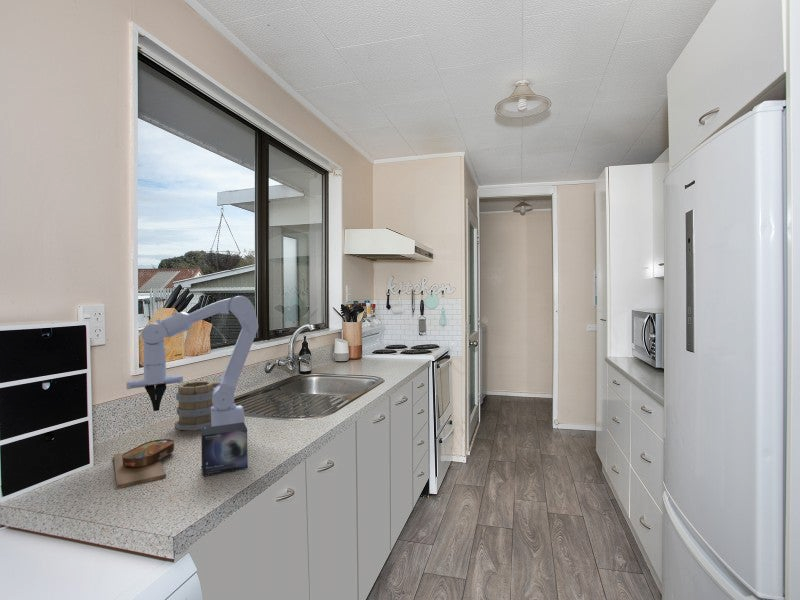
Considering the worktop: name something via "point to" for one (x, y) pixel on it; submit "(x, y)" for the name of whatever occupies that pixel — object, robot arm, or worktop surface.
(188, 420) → the tankard
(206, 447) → the small box
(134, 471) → the chopping board
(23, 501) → the worktop surface
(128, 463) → the tin
